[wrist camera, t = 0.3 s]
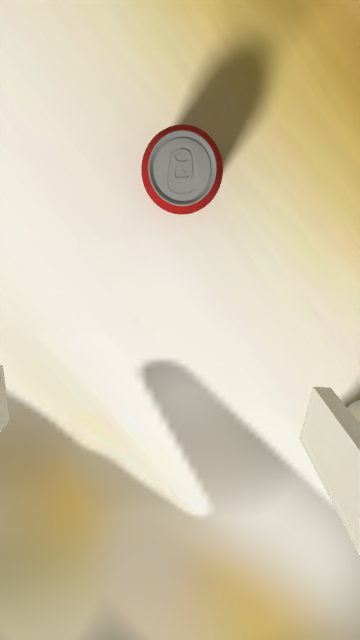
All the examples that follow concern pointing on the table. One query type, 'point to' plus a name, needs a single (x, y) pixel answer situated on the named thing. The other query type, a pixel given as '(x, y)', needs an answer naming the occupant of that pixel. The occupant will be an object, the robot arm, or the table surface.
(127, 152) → the table surface
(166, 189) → the beverage can
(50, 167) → the table surface
